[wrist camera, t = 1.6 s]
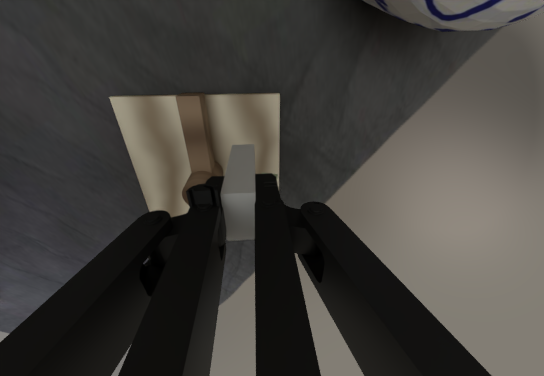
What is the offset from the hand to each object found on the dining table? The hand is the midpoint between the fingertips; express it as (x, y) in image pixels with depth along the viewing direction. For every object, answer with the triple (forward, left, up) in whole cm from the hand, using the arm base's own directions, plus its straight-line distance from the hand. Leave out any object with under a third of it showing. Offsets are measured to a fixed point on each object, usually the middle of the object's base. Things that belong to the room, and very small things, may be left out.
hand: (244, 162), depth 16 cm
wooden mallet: (-7, -8, -17) cm, 20 cm away
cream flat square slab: (-7, -8, -18) cm, 21 cm away
